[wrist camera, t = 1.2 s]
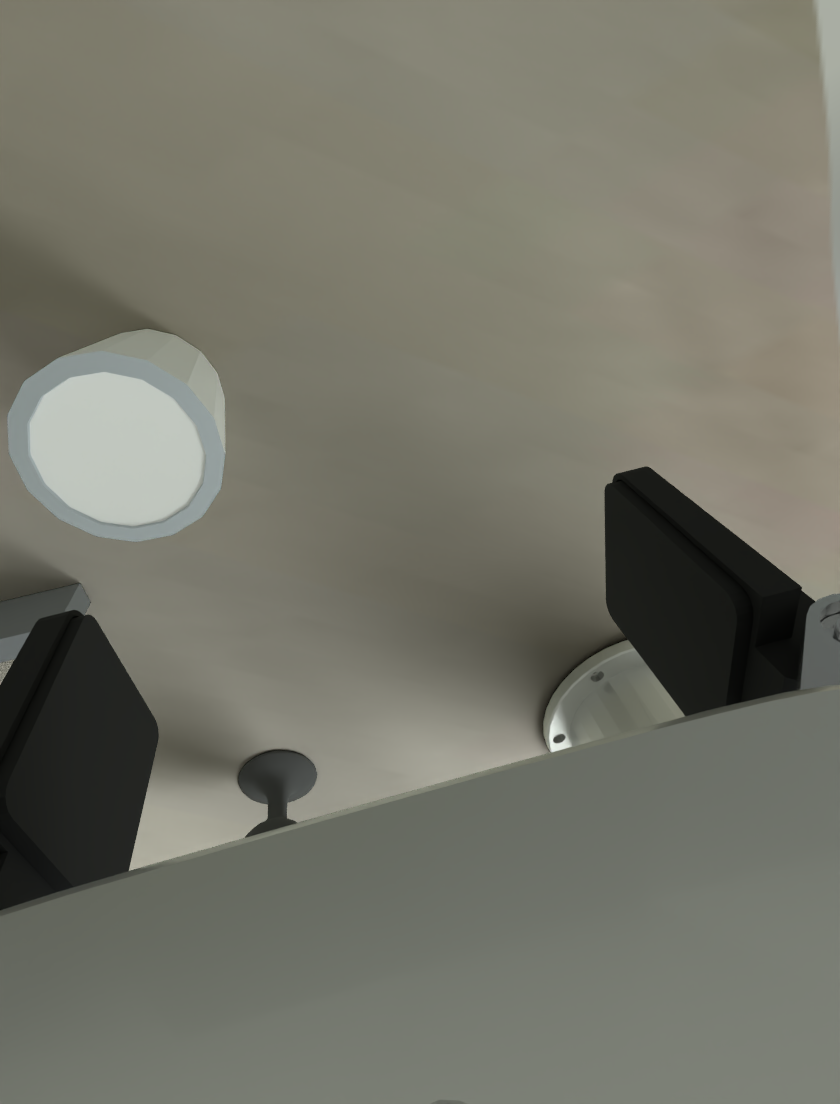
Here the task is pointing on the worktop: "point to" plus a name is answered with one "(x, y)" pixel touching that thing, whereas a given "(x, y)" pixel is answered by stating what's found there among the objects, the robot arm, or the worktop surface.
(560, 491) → the worktop surface
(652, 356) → the worktop surface
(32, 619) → the box
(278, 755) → the sundae
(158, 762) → the worktop surface
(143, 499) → the shot glass
